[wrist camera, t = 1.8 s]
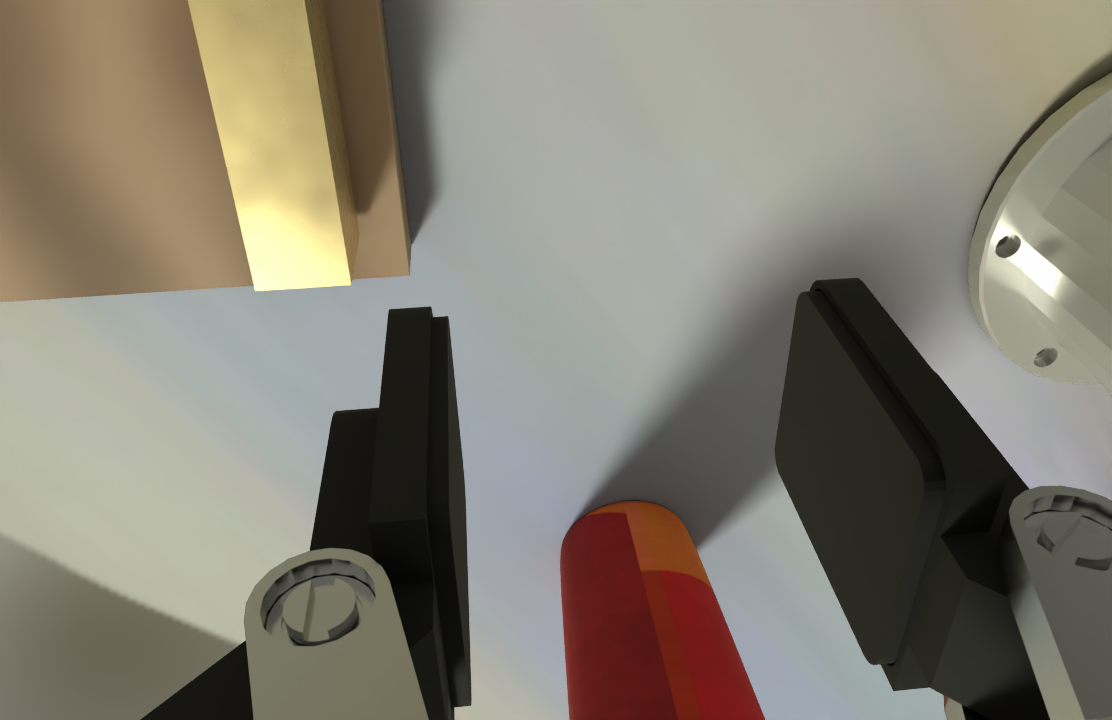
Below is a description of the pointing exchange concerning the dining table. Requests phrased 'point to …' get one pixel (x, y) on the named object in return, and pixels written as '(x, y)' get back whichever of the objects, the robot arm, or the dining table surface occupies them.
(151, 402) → the dining table surface
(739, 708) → the paper cup
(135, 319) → the dining table surface
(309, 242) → the bar
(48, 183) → the lock board
